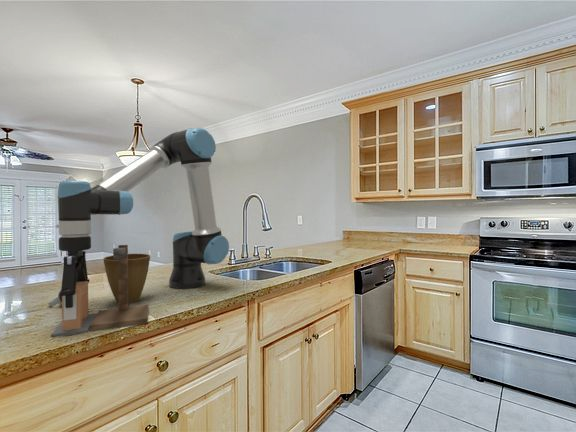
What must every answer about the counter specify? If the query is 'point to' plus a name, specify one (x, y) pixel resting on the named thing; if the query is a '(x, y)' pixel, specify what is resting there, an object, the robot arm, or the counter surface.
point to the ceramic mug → (56, 300)
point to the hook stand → (121, 301)
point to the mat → (83, 329)
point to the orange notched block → (81, 307)
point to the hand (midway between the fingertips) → (76, 312)
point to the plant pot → (135, 275)
